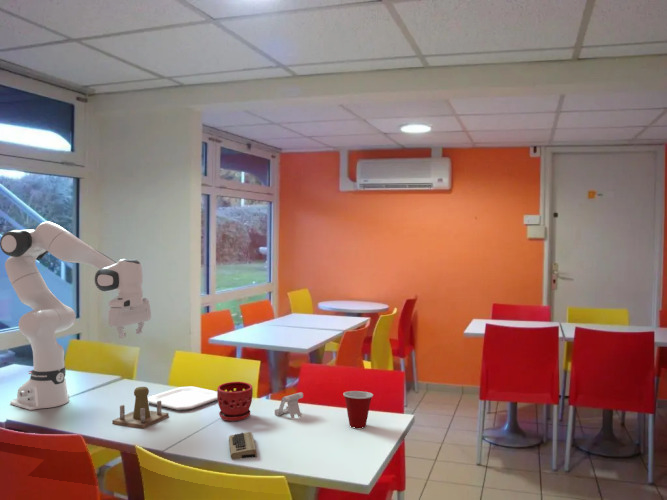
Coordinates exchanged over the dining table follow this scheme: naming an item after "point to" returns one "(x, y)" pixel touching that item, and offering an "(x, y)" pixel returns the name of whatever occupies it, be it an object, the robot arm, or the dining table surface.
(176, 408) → the plate
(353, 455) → the dining table surface
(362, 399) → the plastic cup
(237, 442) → the computer
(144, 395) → the olive gourd
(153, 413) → the standoff base
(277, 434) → the dining table surface
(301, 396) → the portable electronic device stand
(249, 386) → the plant pot
